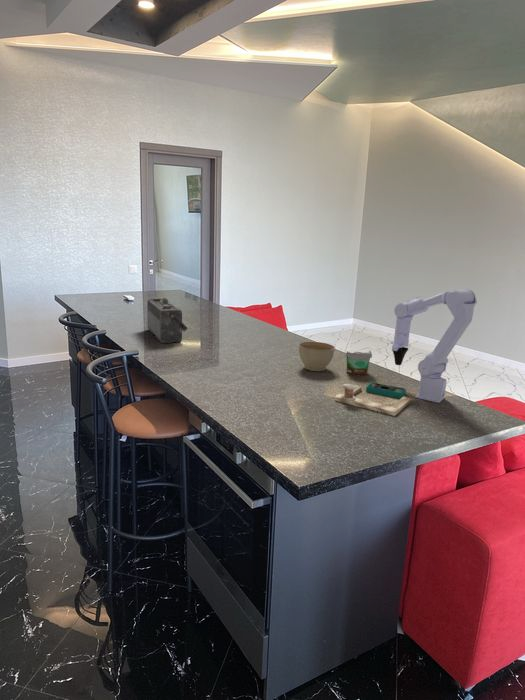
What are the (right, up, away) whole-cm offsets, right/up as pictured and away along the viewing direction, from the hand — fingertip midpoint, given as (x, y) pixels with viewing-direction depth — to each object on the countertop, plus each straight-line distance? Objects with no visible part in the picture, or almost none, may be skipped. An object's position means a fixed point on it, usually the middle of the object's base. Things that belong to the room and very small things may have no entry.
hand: (398, 364), depth 199 cm
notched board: (-15, -13, -18) cm, 27 cm away
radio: (-110, +14, +69) cm, 130 cm away
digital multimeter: (-7, -12, -7) cm, 15 cm away
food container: (-13, -5, +15) cm, 21 cm away
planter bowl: (-32, -3, +20) cm, 38 cm away
